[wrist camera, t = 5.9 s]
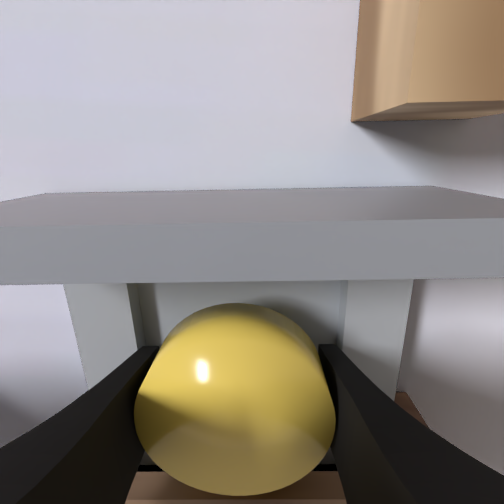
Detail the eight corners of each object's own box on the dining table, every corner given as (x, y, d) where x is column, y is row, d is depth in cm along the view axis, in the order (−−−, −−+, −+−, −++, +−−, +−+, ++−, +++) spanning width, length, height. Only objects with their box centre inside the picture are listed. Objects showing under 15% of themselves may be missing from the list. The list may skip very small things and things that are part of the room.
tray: (101, 432, 15) (14, 588, 9) (45, 193, 11) (-146, 229, 6) (391, 430, 14) (469, 590, 9) (431, 185, 11) (599, 216, 5)
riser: (350, 121, 10) (407, 102, 6) (361, -23, 9) (439, -151, 5) (468, 118, 10) (595, 98, 6) (496, -27, 9) (674, -160, 5)
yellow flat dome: (162, 436, 11) (143, 492, 10) (149, 300, 10) (122, 336, 8) (314, 441, 11) (325, 499, 9) (329, 305, 10) (347, 342, 8)
